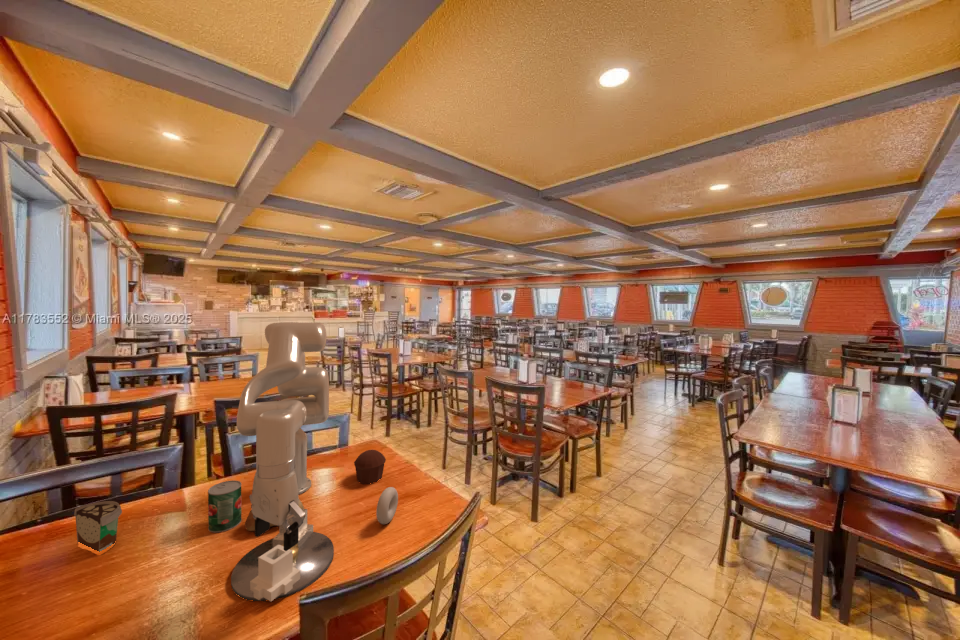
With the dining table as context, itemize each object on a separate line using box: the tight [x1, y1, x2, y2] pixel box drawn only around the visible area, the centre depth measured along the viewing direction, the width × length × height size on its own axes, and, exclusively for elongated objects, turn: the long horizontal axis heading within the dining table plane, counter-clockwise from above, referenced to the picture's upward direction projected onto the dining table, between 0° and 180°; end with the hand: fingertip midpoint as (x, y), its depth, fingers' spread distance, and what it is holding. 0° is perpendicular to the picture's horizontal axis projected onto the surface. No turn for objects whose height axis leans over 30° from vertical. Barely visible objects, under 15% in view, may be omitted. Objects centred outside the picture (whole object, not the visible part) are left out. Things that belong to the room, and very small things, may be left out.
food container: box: [73, 500, 123, 552], centre depth 93 cm, size 12×6×10 cm, turn 71°
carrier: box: [230, 508, 335, 602], centre depth 87 cm, size 22×22×9 cm
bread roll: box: [244, 497, 305, 532], centre depth 103 cm, size 10×15×8 cm, turn 127°
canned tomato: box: [207, 480, 243, 534], centre depth 102 cm, size 8×8×11 cm
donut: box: [375, 486, 399, 525], centre depth 105 cm, size 10×4×10 cm, turn 168°
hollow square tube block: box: [250, 545, 300, 602], centre depth 79 cm, size 9×9×7 cm
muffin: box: [353, 449, 387, 485], centre depth 131 cm, size 12×11×10 cm
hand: (276, 539), depth 79 cm, fingers open, 9 cm apart
